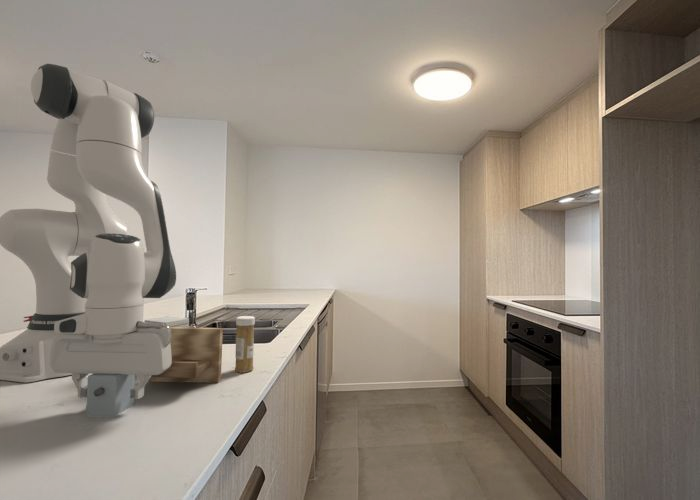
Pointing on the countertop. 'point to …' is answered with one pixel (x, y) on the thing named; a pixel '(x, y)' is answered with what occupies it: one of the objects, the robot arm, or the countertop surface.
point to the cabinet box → (108, 394)
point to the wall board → (194, 355)
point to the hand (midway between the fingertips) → (111, 397)
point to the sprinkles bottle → (244, 343)
